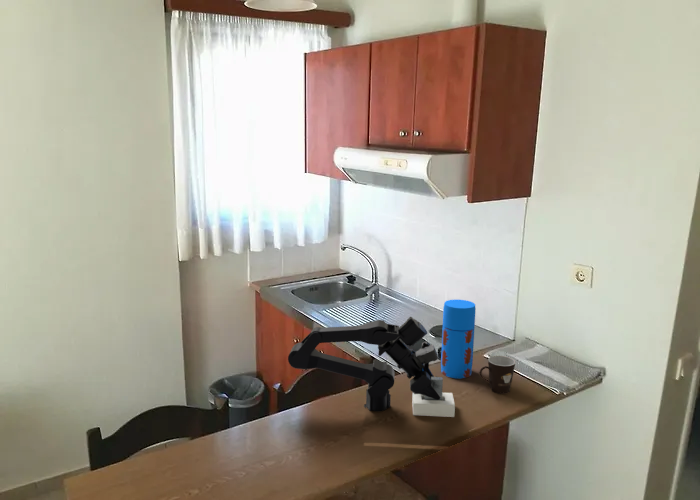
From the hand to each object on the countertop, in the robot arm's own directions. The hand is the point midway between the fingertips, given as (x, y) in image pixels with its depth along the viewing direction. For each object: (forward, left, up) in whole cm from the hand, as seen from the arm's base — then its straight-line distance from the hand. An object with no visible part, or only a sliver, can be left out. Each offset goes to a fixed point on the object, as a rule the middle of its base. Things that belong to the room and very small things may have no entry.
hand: (438, 391), depth 167 cm
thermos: (+21, +24, -7) cm, 32 cm away
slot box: (-1, +1, -7) cm, 7 cm away
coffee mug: (+26, +8, -7) cm, 28 cm away
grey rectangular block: (-1, +1, -6) cm, 6 cm away
